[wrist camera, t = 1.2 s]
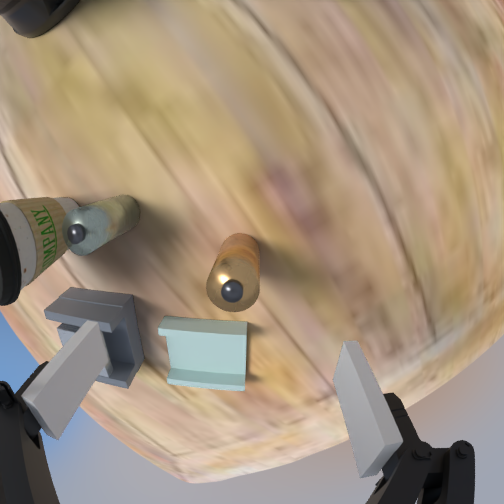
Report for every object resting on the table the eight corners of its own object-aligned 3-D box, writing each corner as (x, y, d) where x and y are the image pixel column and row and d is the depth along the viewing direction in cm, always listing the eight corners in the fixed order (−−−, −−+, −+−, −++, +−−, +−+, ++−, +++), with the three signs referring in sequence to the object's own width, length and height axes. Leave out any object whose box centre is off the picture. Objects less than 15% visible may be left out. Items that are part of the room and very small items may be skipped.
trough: (164, 315, 32) (157, 328, 29) (247, 321, 32) (246, 335, 29) (172, 370, 35) (167, 383, 32) (245, 376, 35) (244, 391, 32)
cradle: (70, 287, 31) (43, 309, 25) (132, 294, 31) (109, 322, 25) (86, 346, 34) (66, 372, 28) (144, 358, 34) (128, 389, 28)
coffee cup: (76, 273, 31) (1, 332, 16) (32, 226, 29) (-47, 262, 14) (109, 216, 28) (16, 259, 14) (59, 166, 26) (-35, 181, 12)
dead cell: (108, 195, 28) (55, 211, 18) (139, 194, 27) (90, 209, 18) (110, 229, 29) (60, 257, 20) (141, 230, 29) (95, 259, 19)
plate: (63, 322, 27) (56, 328, 25) (101, 330, 27) (95, 337, 25) (76, 360, 28) (70, 367, 27) (113, 370, 28) (108, 377, 27)
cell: (221, 232, 29) (204, 265, 19) (260, 234, 29) (260, 268, 19) (221, 268, 30) (205, 314, 21) (258, 270, 30) (258, 317, 21)
